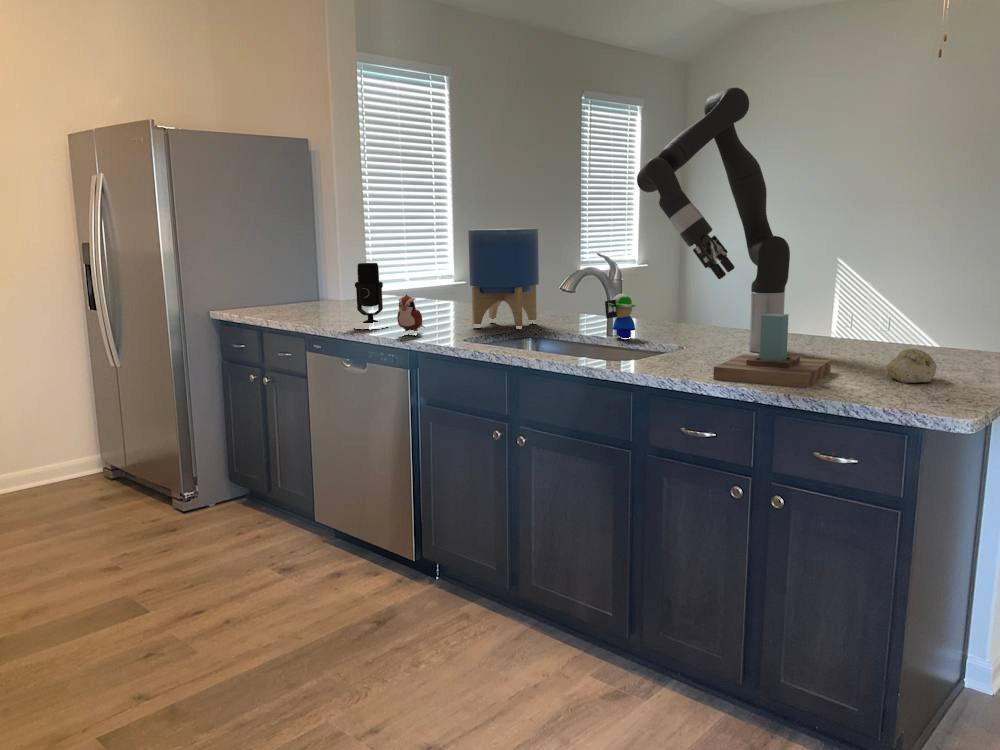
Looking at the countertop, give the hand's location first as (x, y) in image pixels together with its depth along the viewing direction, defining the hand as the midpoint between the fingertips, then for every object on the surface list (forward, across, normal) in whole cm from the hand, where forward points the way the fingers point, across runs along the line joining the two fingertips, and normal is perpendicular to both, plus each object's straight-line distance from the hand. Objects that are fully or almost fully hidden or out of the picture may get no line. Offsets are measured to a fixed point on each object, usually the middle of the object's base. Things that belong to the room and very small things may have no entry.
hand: (727, 273), depth 213 cm
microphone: (-62, +24, +134) cm, 150 cm away
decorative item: (+45, -10, -23) cm, 52 cm away
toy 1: (-47, +12, +110) cm, 120 cm away
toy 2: (-2, +30, +52) cm, 60 cm away
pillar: (+24, -16, -2) cm, 29 cm away
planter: (-31, +46, +98) cm, 112 cm away
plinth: (+26, -17, 0) cm, 31 cm away
